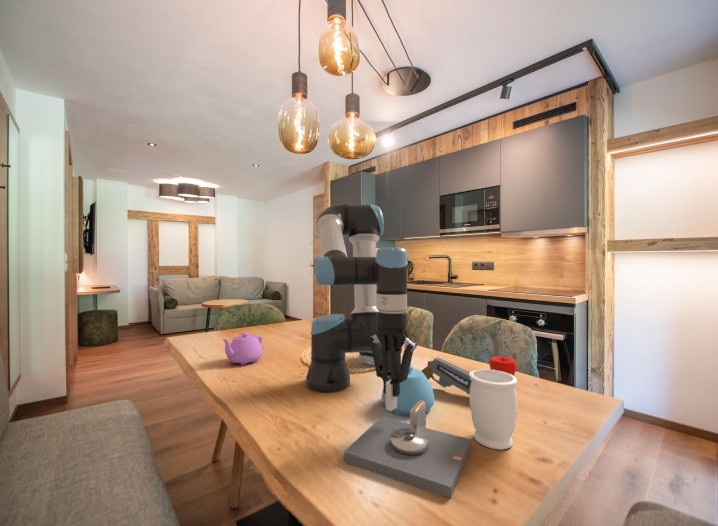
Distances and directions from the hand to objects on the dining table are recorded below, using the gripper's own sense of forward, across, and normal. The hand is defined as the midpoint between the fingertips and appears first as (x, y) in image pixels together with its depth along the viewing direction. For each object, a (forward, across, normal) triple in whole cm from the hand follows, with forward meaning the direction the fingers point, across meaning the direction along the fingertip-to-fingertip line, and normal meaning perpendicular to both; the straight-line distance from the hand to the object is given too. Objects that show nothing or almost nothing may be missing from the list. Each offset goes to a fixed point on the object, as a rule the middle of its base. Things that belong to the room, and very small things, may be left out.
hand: (391, 408), depth 79 cm
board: (+6, +8, -5) cm, 11 cm away
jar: (+6, +20, +12) cm, 24 cm away
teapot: (+6, -80, +9) cm, 81 cm away
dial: (+4, +8, -3) cm, 9 cm away
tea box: (+6, -38, +47) cm, 60 cm away
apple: (+6, +10, +55) cm, 57 cm away
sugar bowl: (+6, -5, +16) cm, 18 cm away
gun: (+6, +2, +34) cm, 34 cm away
